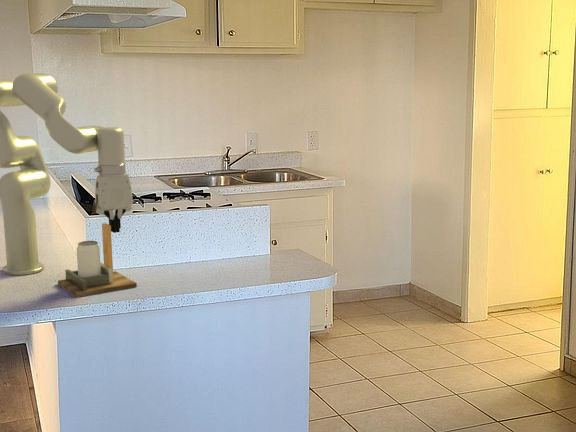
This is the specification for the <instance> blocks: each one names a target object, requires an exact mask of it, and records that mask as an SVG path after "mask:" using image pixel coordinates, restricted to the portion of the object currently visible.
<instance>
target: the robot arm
mask: <svg viewBox="0 0 576 432" xmlns="http://www.w3.org/2000/svg"><path fill="white" fill-rule="evenodd" d="M58 93H59V85H58V82H57V81H56V79H55V78H54V77H53V76H52V75H50V74H48V73H46V72H45V73H44V72H29V73H28V72H27V73H22V74H20V75H18V76H17V77H15V78H0V108H5V107H6V108H7V107H20V106H26V107H28V108H29V109H30V110H31V111H33V112H34V113H35V114H36V115H37V116H38V117H40V118H41V119H42V120H43V121H44V124H45V129H46V131H47V133H48V135H49V136H50V137H51V139H52V140H53V141H54V142H55V143H57V144H58V145H59V146H60V147H62V148H63V149H64V150H66V151H67V152H69V153H71V154H75V155H79V154H85V153H93V152H97V156H98V157H97V158H98V164H97V166H96V167H94V169H93V171H94V173H98V174H97V176H96V181H95V187H94V188H95V190H94V191H95V192H94V195H95V196H94V197H95V199H94V200H95V203H94V204H95V207H96V210H95V213H96V214H99V215H104V216H105V217H106V218H107V219H108V224H109V225H111V233H113V234H115V233H120V232H121V231H120V230H121V226H122V225H121V219H122V218H123V216H124V214H125V213H127V212H129V211H131V210H132V209H133V207H132V206H133V203H134V200H133V190H132V185H131V179H130V175H129V174H128V173H126V157H125V155H126V154H125V134H124V129H122V128H121V127H117V126H113V127H112V126H108V127H105V126H100V125H88V126H87V125H86V126H85V125H84V126H77V127H76V126H74V125H73V124H72V123H70V122H69V121H68V120H67V119H66V118H64V116H63V115H64V114H65V112H66V109H67V102H66V100H65V99H64V98H63V97H62V96H60V95H59V94H58ZM18 167H19V170H15V171H10V172H7V173H5V174H3V175H2V176H1V177H0V205H1V209H2V219H3V220H2V221H3V229H4V230H3V231H4V232H3V233H4V244H5V247H4V248H5V257H6V258H5V259H6V260H5V261H6V265H5V266H3V267H2V268H1V272H2V273H3V274H4V275H9V276H25V275H33V274H37V273H39V272H42V271H44V269H45V265H44V264H43V263H42V262H39V251H38V235H37V233H38V232H37V221H36V220H37V219H36V213H35V210H34V207H33V206H32V204H31V202H30V200H33V199H37V198H42V197H44V196H45V195H47V194H48V193H49V191H50V189H51V177H50V173H49V171H48V167H47V165H46V162H45V160H44V156H43V153H42V151H41V147H40V146H39V145H38V142H37V141H36V140H34V138H32V137H30V136H27V135H15V133H14V130H13V128H12V124H11V122H10V120H9V119H8V117H7V116H6V114H5V113H3V112H2V110H0V169H12V168H13V169H14V168H18Z"/></svg>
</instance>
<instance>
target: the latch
mask: <svg viewBox="0 0 576 432" xmlns="http://www.w3.org/2000/svg"><path fill="white" fill-rule="evenodd" d="M101 232H102V233H101V235H102V238H101V239H102V253H103V254H102V255H103V257H102V258H103V262H101V261H100V266H101V275H103V274H108V276H109V283H113V272H114V267H113V266H114V265H113V244H112V243H113V242H112V232H111V225H109V223H107V222H103V223H101Z"/></svg>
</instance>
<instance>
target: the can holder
mask: <svg viewBox="0 0 576 432" xmlns="http://www.w3.org/2000/svg"><path fill="white" fill-rule="evenodd" d="M64 271H65V272H64V273H65V274H64V275H65V279H66V280H67V281H69V282H70V283H72V284H73V285H75V286H76V287H77V288H79V289H80V290H82V291H83V292H84V291H87V288H91V287H97V286H103V285H109V276H108V274H103V275H96V276H90V277H84V278H81V277H80V276H78V269H77V270H71V269H65V270H64Z"/></svg>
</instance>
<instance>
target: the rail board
mask: <svg viewBox="0 0 576 432" xmlns="http://www.w3.org/2000/svg"><path fill="white" fill-rule="evenodd" d="M57 285H58V286H60V287H61V288H62V289H64V290H66V291H67V292H68V293H70V294H71V295H72V296H74V297H76V298H81V297H86V296H87V297H88V296H92V295H98V294H104V293H109V292H117V291H123V290H127V289H132V288H137V287H138V285H137V282H135V281H134V280H132V279H130V278H128V277H127V276H125V275H123V274H121V273H120V272H118V271H116V270H115V271H114V270H113V283H109V285H103V286H97V287H91V288H87V291H84V292H83V291H82V290H80V289H79V288H77V287H76V286H75V285H73V284H72V283H70V282H69V281H67V280H66V278H64V279H59V280H57Z"/></svg>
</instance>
